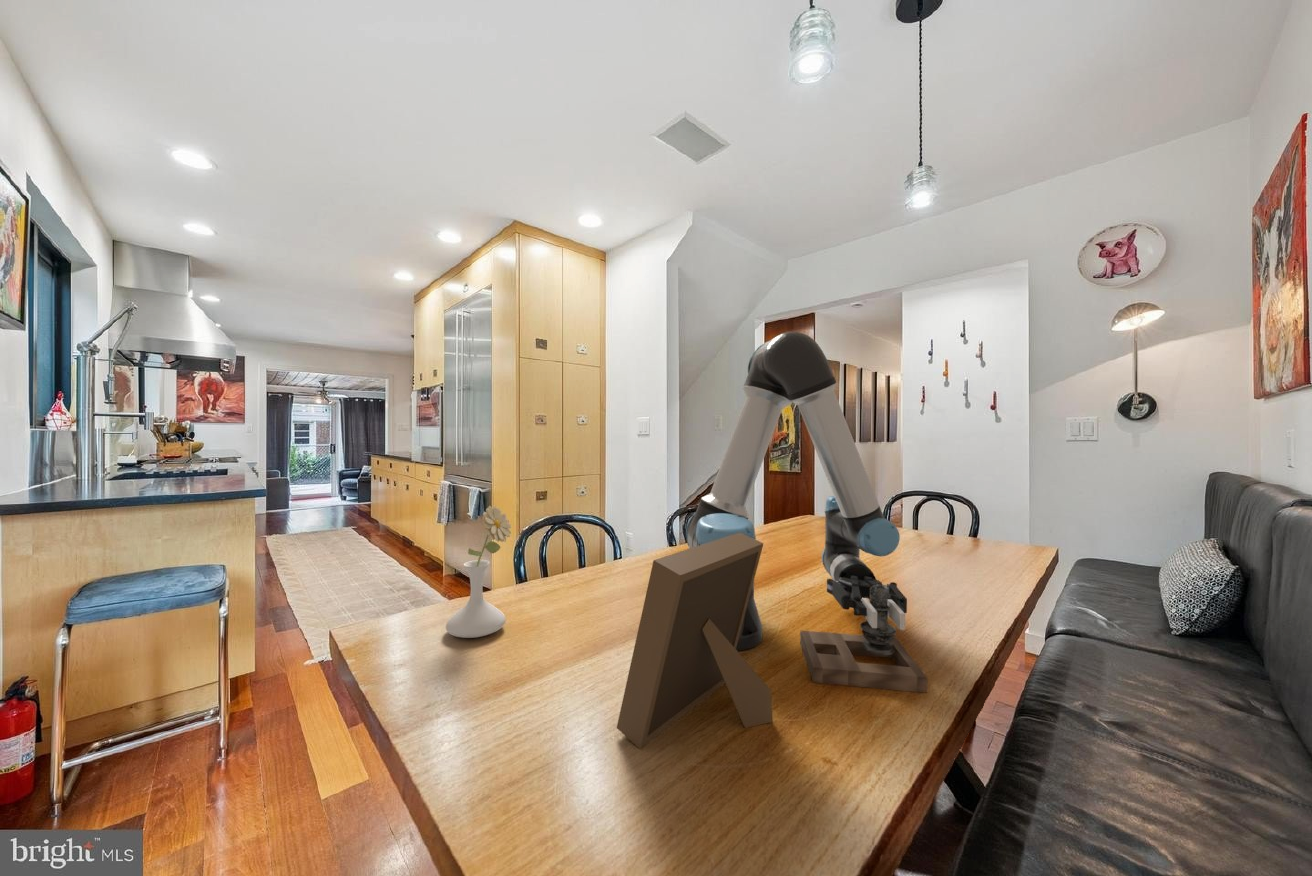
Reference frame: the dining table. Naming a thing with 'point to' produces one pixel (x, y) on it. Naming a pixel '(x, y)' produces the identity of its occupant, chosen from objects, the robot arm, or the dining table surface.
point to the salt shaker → (879, 624)
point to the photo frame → (693, 639)
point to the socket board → (838, 666)
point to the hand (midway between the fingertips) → (888, 620)
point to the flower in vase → (481, 585)
